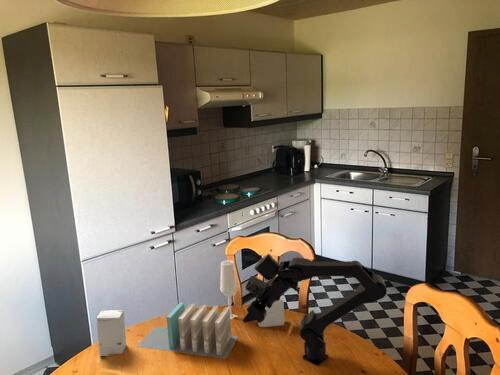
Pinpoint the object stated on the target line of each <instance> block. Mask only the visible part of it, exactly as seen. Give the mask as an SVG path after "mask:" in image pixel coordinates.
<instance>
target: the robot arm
mask: <svg viewBox="0 0 500 375" xmlns="http://www.w3.org/2000/svg"><path fill="white" fill-rule="evenodd" d="M253 269H254V270H255V271H256V272H257V273H258V274H259V275H260V276H262V278H264V279H265V280H266V281H267V282H266V281H263V280H261V279H260V278H258V277H256V276H253V275H251V276H250V277H249V279H247V280H248V281H247V283H246V284H245V290H246V291H247V292H248V293H249V292H250V293H251V294H256V296H255V297H256V298H255V300H252V301H251V302H250V303H249V304H248V306H247V308H246V311H247V312H246V314H245V316H244V317H243V318H242V322H243V323H245V324H246V323H251V322H255V321H256V322H257V323H258V322H259V323H261V322H262V321H263V320H264V319H265V317H266V315H267V311H266V310H265V308H266V306H267V307H268V308H269V309H270V308H271V306H272V304H273V303H274V302H275V301H278V300H280V297H282V296H283V295H285V293H287V292H288V291H289V289H292V290H294V291H295V292H297V291H298V289H299V282H300V281H301V282H302V281H307V280H309V279H312V278H316V277H354V278H355V280H357V282H359V285H358V286H357V288H356V289H355V290H354V291H353V292H350V293H349V294H347V295H346V296H344V297H343V298H342V299H340V300H338V301H336V302H335V303H333V304H332V305H330V306H329V307H327V308H325V309H323V311H321V312H315V311H314V309H313V310H311V311H309V312H308V313H307V314H303V317H302V319H301V321H300V328H299V335H300V337H301V339H302V340H304V346H303V347H304V354H303V355H302V359H304V360H306V361H308V362H309V363H311V364H313V365H316V366H319V365H321V364H322V363H324V361H326V360H327V359H328V358H329V357H330V356H329V354H327V350H326V349H327V346H326V345H327V344H326V341H325V330H326V329H327V327H328V326H330V325H332V324H333V323H335V322H336V321H338V320H340V319H341V318H343V317H344V316H346V315H348V314H349V313H351V312H352V311H354V310H356V309H357V308H359V307H360V306H362V305H363V304H364V305H365V304H370V303H371V304H372V303H374V302H377V301H380V300H381V299H384V298H385V297H386V296H387V293H388V292H387V291H388V289H387V287H386V286H387V285H386V283H385V280H384V279H383V277H382V275H379V274H377V273H374V272H373V271H371V269H369V268H368V267H366V266H365V265H363V264H362V263H361V262H360V261H358V260H352V261H316V260H314V261H313V260H311V259H308V258H303V257H294V258H292V259H291V260H286V261H285V260H283V261H280V262H278V261H277V260H276V259H274V258H273V256H272V255H271V254H269V253H267V254H266V255H264V256H263V257H261V258H260V259H259V260H258V261H257V262H256V264H255V265H254V266H253Z"/></svg>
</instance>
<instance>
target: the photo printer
mask: <svg viewBox="0 0 500 375" xmlns="http://www.w3.org/2000/svg"><path fill="white" fill-rule="evenodd" d="M284 305H285V304H284V299H283V297H282V296H281V297H280V300H278V301H275V302H274V303H273V304H272V306H271V308H270V309H269V308H268V307H267V306H266V308H265V310H266V311H267V315H266V317H265V319H264V320H263V321H262V322H261V323H259V322H258V321H257V324H258V327H260V328H267V327H268V328H269V327H279V326H285V306H284Z"/></svg>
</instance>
